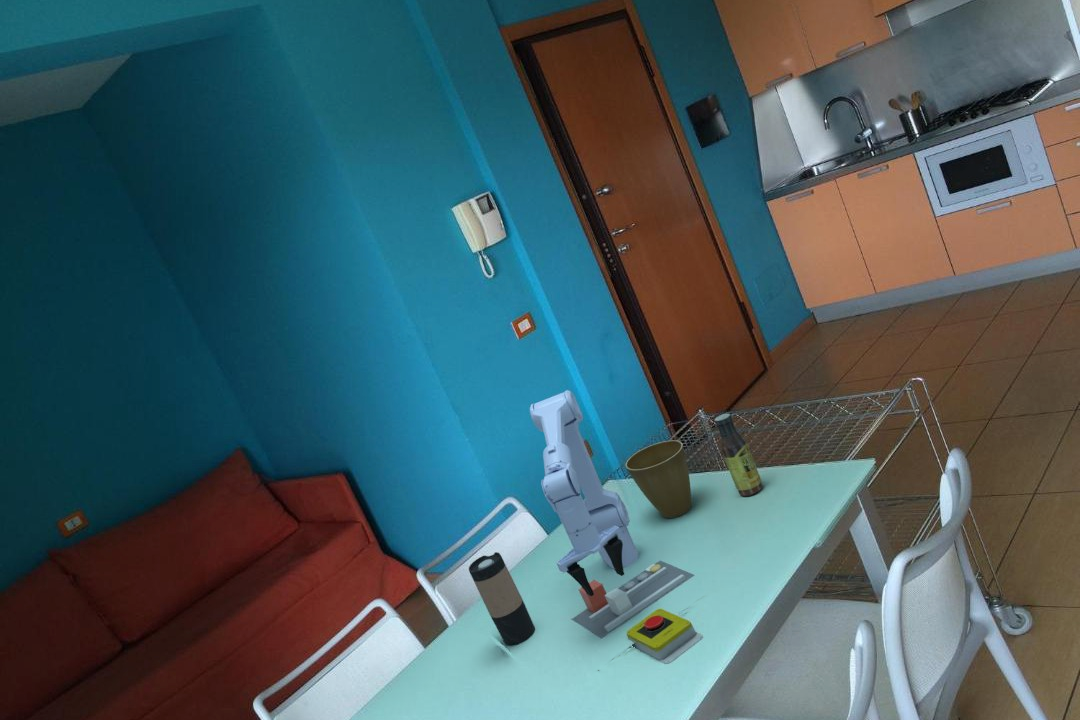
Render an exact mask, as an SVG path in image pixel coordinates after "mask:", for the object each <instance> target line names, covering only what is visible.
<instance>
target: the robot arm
mask: <svg viewBox="0 0 1080 720" xmlns="http://www.w3.org/2000/svg"><path fill="white" fill-rule="evenodd" d="M580 408H581V407H580V406H579V404H578V402H577V398H576V397H575V395H574V393H573V392H572V391H570V390H568V389H566V390H565V391H563V392H561V393H557V394H556V395H553V396H551V397H548V398H546V399H543V400H540V401H538V402H536V403H532V404H531V405H530V407H529V414H530V416H531V419H532V423H533V424H534V426H535V428H537V430H539V431H540V432H541V433H542V432H543V434H544V439H545V444H546V447H545V448H544V449H543V452H542V456H543V457H542V459H543V460H542V461H543V467H544V478H543V479H541V482H540V483H541V487H542V491H543V494H544V496H545V498H546V500H547V502H548V503H549V505H550V506H551V508H552V509H553V511H554V513H557V515H558V516H559V517H558V518H559V520H560V522H561V524H562V526H563V528H564V530H565V532H566V535H567V537H568V540H569V542H570V544H571V546H572V549H570V551H568V553H567V554H566V555H564V556H563V557H562V558H561V559H559V560H557V562H555V563H556V566H557V568H558V570H559V572H561V573H563V574H564V573H567V574H569V575H570V576H571V577H572V578H573V579H574V580H575V582H577V583H578V585H580V587H581V588H583V589H584V590H585V592H586V593H587V594H588V595H590V596H593V595H594V593H593V590H592V588H591V586H590V584H589V579H588V577H587V574H586V570H585V568H584V567H582V566H580V564H578V563H579V562H582V561H583V560H584V559H585V558H587V557H589V556H590V555H592V554H594V555H595V554H597V553H599V555H600V557H601V560H602V562H603V563H605V564H607V565H609V567H610V568H611V569H613V570H614V571H615V572H616V574H617V575H619V576H622V577H623V576H624V575H625V572H624V568H626V567H629V566H631V565H632V564H633V563H635V562H636V561H637V560H638V559H639V556H640V555H639V552H638V549H637V547H636V545H635V543H634V541H633V538H632V536H631V533H630V532H629V530H628V529H629V528H628V526H629V524H630V522H631V521H630V516H629V513H628V509H627V507H626V505H625V503H624V501H623V500H622V497H620V495H619V494H618V492H616V491H613V490H608V489H605V488H604V487H603V485H602V482H601V480H600V478H599V476H598V473H597V470H596V469H595V466H594V463H593V460H592V459H591V455H590V454H589V451H588V449H587V447H586V445H585V442H584V440H583V437H582V435H581V432H580V429H579V424H580V423H581V422H582V421H583V420H584V417H583V413H582V410H581V409H580ZM581 492H582V494H583V496H584V499H583V497H582V494H581Z"/></svg>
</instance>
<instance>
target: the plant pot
mask: <svg viewBox="0 0 1080 720" xmlns="http://www.w3.org/2000/svg"><path fill="white" fill-rule="evenodd" d="M688 467H689V466H688V462H687V457H686V452H685V449H684V445H683V442H682V441H680V440H676V439H675V440H664V441H660V442H656V443H654V444H651V445H649V446H646V447H644V448H642V449H640V450H638V451H637V452H635V453H633V454H632V456H630V457H629V458H628V459H627V461H626V462H625V468H626V470H627V471H628V473H629V475H630V476H631V477H632V479H633V482H634V483H635V484H636V485H637V487H638V488H639V490H640V491H641V493H642V494H643V495H644V497H645V498H646V499H647V500H648V502H649V503H651V505H652V506H653V507H654V508H655V509H656V511H657V512H659V514H660V515H661V516H662V517H663V518H665V519H674V518H677V517H680V516H683V515H685V514H686V513H687V512H689V510H690V509H691V507H692V498H691V497H692V493H691V491H692V489H691V481H690V473H689V468H688Z"/></svg>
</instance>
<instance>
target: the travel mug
mask: <svg viewBox="0 0 1080 720" xmlns="http://www.w3.org/2000/svg"><path fill="white" fill-rule="evenodd" d="M468 572H469V574H470V576H471V579H472V580H473V582H474V584H475V587H476V589H477V590H478V593H479V595H480V597H481V599H482V601H483V604H484V606H485V607H486V610H487V612H488V614H489V617H490V618H491V620H492V622H493V624H494V625H495V628H496V629H497V632H498V633H499V635H500V637H501V638H502V640H503V643H504V644H505V646H509V647H514V646H518V645H520V644H522V643H524V642H526V641H527V640H529V639H530V638H532V637H533V636H534V633H535V631H536V627H535V624H534V622H533V620H532V618H531V615H530V613H529V611H528V608H527V607H526V604H525V602H524V600H523V598H522V597H523V596H522V595H521V593H520V592H519V589H518V587H517V586H516V583H515V581H514V579H513V577H512V575H511V573H510V571H509V569H508V567H507V565H506V563H505V561H504V559H503V556H502V555H501V553H500V552H494V553H493V554H491V555H481V556H480V557H478V558H477V559H475V560H473V561H472V563H471V564H470V565H469V566H468Z"/></svg>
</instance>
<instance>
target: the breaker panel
mask: <svg viewBox="0 0 1080 720" xmlns="http://www.w3.org/2000/svg"><path fill="white" fill-rule="evenodd" d="M693 577H695V574H693V573H691V572H689V571H686V570H683V569H682V568H678V567H677V566H675V565H672V564H669V563H667V562H665V561H663V560H658V561H657V562H656V563H653V564H651V565H649V566H648V567H647V568H645V569H644V570H643V571H642V572H640V573H639V574H637V575H636V576H634V577H633V578H632V579H630V580H628V581H627V582H626V583H624V584H623V585H621V586H619V587H617V588H618V589H620V590H622V591H623V592H625V593H626V594H627V596H628V598H629V600H630V602H631V605H632V608H631V609H629V610H628V611H626V612H625V613H623V614H622V615H620V616H618V615H617V614H615V613H613V612H612V611H611V609H610V606H609V604H608V605H606V606H605V607H603V608H601V609H600V610H598V611H597V612H595V613H593V612H591V611H589V610H588V609H587V608H586V609H585V610H583V611H581V612H580V613H578V614H577V615H576V616H574V617H572V618H571V620H572V621H574V622H575V623H577V624H578V625H580V626H581V627H583V628H584V629H586V630H588V631H589V632H591V633H592V634H594V635H595V636H597V637H598V638H600V639H603V638H604V637H606V636H607V635H609V634H610V633H612V632H614V631H615V630H616V629H618V628H620V627H621V626H622V625H624V624H625V623H627V622H628V621H630V620H631V619H633V618H634V617H636V616H637V615H639V614H640V613H641V612H642V611H645V610H646V609H648V608H649V607H650V606H652V605H653V604H654V603H656V602H658V601H659V600H661V599H662V598H663V597H665V596H666V595H668V594H669V593H671V592H672V591H673V590H675V589H677V588H678V587H679V586H681V585H683V584H684V583H685V582H687V581H688V580H690V579H692V578H693Z"/></svg>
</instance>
